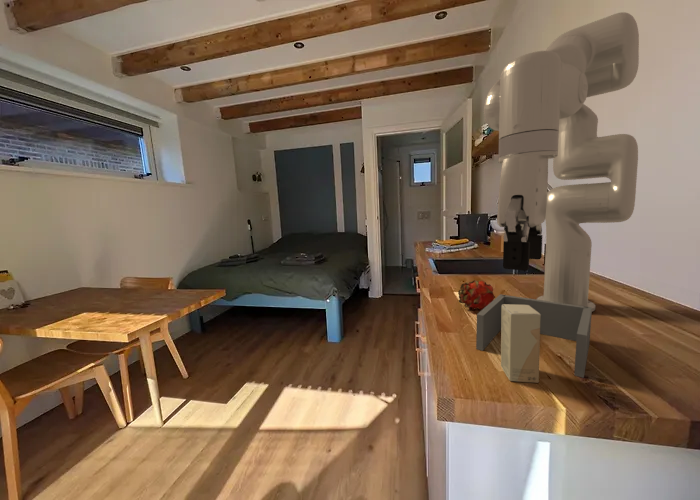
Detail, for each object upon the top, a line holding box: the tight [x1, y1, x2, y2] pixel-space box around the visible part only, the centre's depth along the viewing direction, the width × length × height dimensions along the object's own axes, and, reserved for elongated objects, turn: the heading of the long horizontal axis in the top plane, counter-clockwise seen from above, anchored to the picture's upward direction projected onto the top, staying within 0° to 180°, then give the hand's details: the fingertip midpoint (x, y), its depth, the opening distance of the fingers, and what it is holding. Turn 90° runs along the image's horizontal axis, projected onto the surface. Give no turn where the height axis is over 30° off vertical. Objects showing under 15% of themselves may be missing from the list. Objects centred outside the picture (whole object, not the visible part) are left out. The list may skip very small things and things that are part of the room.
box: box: [500, 304, 541, 383], centre depth 48 cm, size 5×4×11 cm
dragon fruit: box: [457, 279, 496, 311], centre depth 79 cm, size 8×8×12 cm
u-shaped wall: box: [475, 294, 593, 379], centre depth 57 cm, size 16×16×7 cm
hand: (523, 263), depth 46 cm, fingers open, 9 cm apart
